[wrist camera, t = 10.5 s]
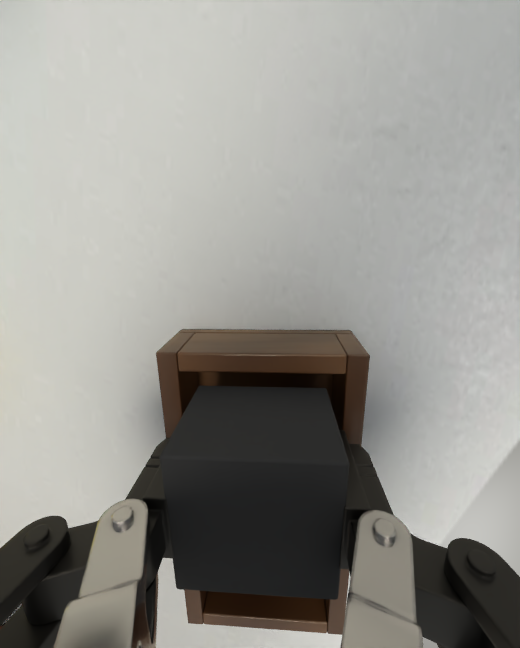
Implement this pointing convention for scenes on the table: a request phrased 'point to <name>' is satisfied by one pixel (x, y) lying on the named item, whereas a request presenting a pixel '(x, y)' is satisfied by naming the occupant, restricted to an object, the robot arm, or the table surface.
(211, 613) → the back frame
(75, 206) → the table surface
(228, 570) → the pad
